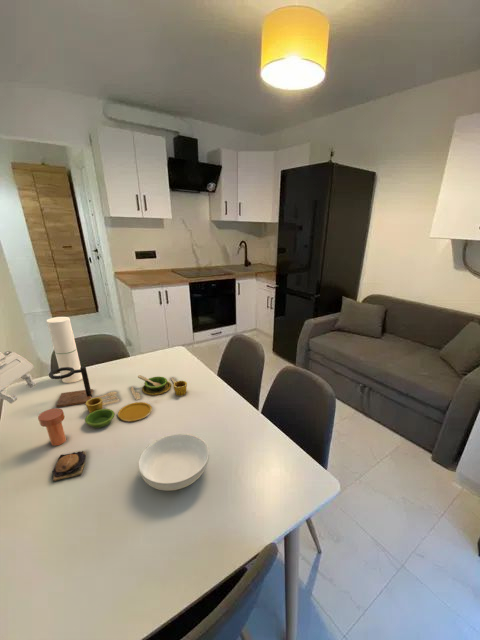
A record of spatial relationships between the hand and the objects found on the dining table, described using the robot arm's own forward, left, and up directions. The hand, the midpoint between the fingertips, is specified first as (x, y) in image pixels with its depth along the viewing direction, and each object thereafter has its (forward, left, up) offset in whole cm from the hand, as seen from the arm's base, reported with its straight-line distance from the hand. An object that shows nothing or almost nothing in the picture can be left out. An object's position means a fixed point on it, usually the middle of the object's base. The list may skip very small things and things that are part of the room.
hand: (24, 393), depth 94 cm
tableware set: (+33, +15, -20) cm, 41 cm away
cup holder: (+7, +25, -19) cm, 32 cm away
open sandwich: (+12, -17, -19) cm, 29 cm away
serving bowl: (+43, -30, -19) cm, 56 cm away
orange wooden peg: (+6, -3, -19) cm, 20 cm away
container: (+2, +45, -19) cm, 49 cm away
